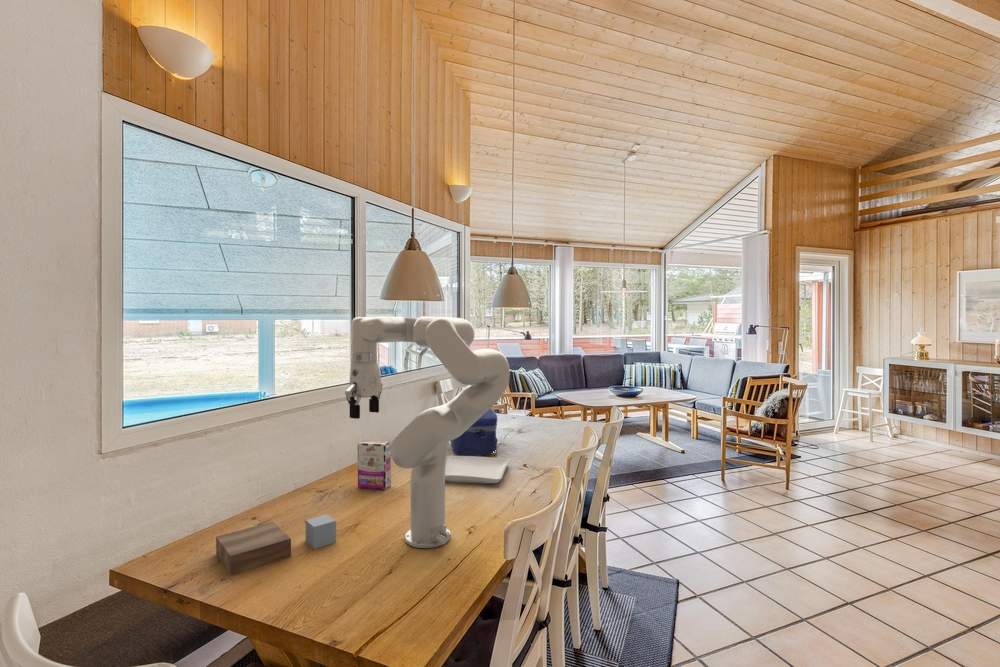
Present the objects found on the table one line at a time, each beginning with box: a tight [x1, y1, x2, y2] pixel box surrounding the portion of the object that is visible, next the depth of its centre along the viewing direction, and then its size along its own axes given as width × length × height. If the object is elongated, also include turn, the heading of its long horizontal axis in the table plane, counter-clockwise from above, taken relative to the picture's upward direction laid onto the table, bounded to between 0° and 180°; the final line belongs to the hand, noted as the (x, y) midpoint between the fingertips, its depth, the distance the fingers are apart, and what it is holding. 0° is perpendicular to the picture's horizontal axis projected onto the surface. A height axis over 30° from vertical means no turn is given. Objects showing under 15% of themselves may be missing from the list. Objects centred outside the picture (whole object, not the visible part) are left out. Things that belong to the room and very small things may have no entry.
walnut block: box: [215, 521, 292, 576], centre depth 126 cm, size 14×14×5 cm
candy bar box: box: [357, 440, 392, 491], centre depth 178 cm, size 11×5×16 cm, turn 76°
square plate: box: [445, 455, 511, 485], centre depth 193 cm, size 27×27×4 cm
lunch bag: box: [449, 407, 498, 456], centre depth 231 cm, size 31×21×20 cm
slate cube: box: [305, 513, 337, 550], centre depth 134 cm, size 6×6×6 cm
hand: (364, 415), depth 147 cm, fingers open, 9 cm apart
